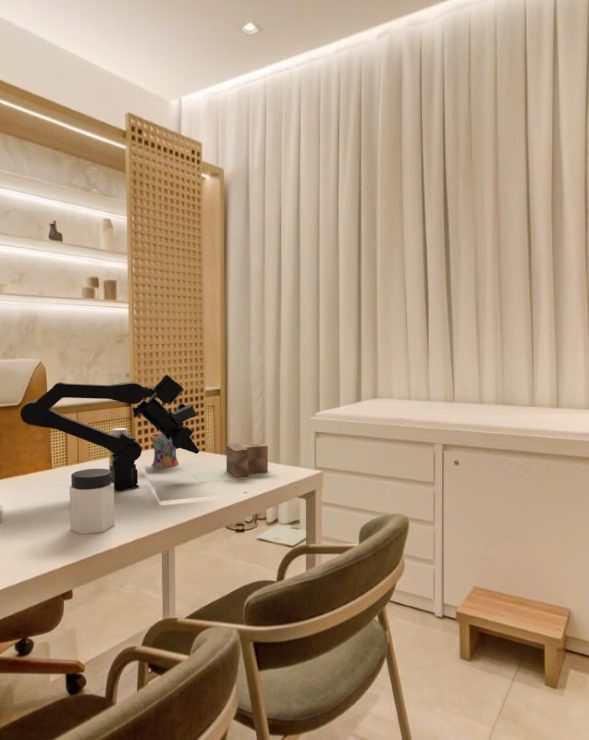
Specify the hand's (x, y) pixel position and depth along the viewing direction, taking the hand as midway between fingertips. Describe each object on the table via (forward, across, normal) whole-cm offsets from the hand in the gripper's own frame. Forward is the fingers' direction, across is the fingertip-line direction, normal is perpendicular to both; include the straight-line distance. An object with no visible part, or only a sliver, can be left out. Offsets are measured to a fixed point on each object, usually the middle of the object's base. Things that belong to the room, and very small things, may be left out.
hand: (198, 452), depth 156 cm
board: (+14, 0, -2) cm, 14 cm away
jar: (-14, -32, +27) cm, 44 cm away
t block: (+16, 0, -6) cm, 17 cm away
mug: (+2, +22, +10) cm, 24 cm away
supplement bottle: (-8, +24, +20) cm, 33 cm away
